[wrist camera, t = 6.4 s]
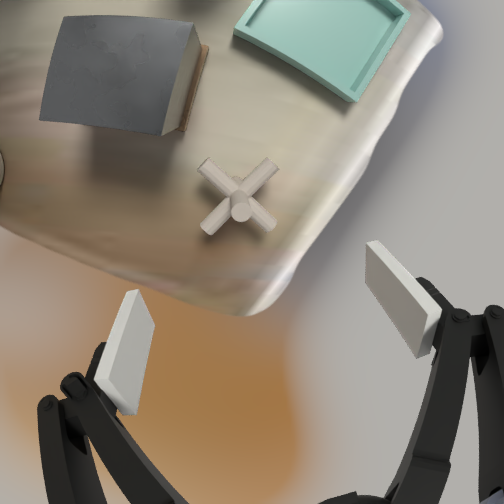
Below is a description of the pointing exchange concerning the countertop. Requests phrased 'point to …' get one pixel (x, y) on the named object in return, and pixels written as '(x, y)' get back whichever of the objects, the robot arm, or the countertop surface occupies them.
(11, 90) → the countertop surface
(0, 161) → the travel mug
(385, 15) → the tray
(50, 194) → the countertop surface
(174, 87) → the mounted unit
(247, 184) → the pipe connector
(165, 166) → the countertop surface
